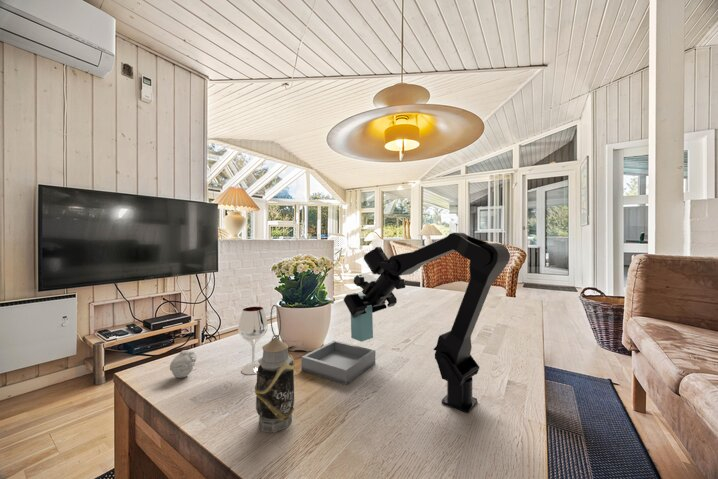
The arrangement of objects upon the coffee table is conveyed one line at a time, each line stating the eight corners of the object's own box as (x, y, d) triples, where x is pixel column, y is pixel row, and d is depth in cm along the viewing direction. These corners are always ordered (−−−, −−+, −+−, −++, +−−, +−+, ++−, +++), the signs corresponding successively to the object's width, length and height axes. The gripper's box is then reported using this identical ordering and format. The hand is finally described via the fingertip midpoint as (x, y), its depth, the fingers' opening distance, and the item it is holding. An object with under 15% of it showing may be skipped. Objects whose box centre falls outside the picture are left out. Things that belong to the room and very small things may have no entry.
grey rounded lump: (201, 372, 85) (201, 348, 85) (180, 384, 78) (180, 358, 78) (185, 369, 87) (185, 346, 87) (163, 380, 80) (163, 355, 80)
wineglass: (233, 369, 87) (233, 309, 86) (259, 361, 93) (259, 304, 92) (246, 379, 81) (246, 314, 81) (272, 369, 87) (273, 308, 87)
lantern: (300, 426, 61) (300, 307, 61) (260, 441, 57) (260, 312, 56) (286, 406, 68) (286, 299, 68) (250, 417, 64) (250, 303, 63)
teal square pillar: (373, 337, 95) (371, 294, 95) (361, 341, 92) (360, 296, 92) (362, 334, 99) (361, 292, 99) (351, 337, 96) (350, 294, 95)
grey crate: (346, 385, 78) (346, 370, 78) (301, 370, 86) (301, 356, 86) (375, 363, 91) (375, 350, 91) (334, 352, 100) (334, 340, 100)
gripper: (390, 263, 98) (367, 291, 107) (347, 267, 86) (325, 299, 94) (408, 290, 93) (383, 318, 101) (366, 299, 80) (340, 329, 88)
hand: (358, 315), depth 96 cm, fingers closed on teal square pillar, 5 cm apart
